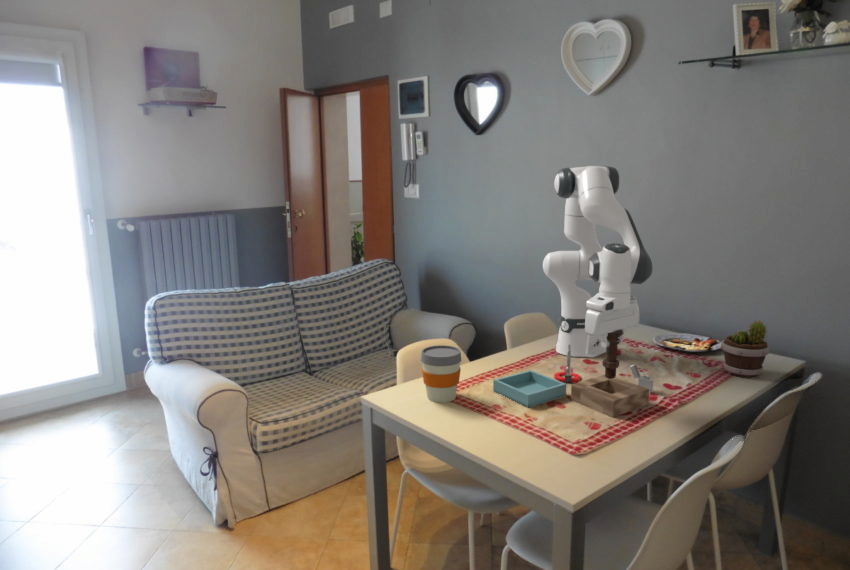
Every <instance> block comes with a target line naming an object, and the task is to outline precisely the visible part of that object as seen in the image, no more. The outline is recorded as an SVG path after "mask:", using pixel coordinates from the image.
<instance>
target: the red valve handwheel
mask: <svg viewBox="0 0 850 570" xmlns="http://www.w3.org/2000/svg"><path fill="white" fill-rule="evenodd" d="M570 348H571V345H568V351H567V355H566V367H565V371H560V372H556V373H554V375H553V377H554V379H555V380H557V381H560V382H563V383H565V382H566V383H565V384H575V383H578V382H580V379H581V376H580V374H578V373H576V372H572V367H571V361H572V360H571V359H572V356H571V351H570ZM560 375H561V376H560ZM573 376H574V377H573Z"/></svg>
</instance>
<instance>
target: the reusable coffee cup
mask: <svg viewBox="0 0 850 570" xmlns="http://www.w3.org/2000/svg"><path fill="white" fill-rule="evenodd" d="M420 356H421V357H420V361H421V364H422V367H421V374H422V380H423V384H424V385H425V391H426V398H427V399H428V400H429V401H430V402H433V403H450V402H452V401H454V400H455V399H456V397H457V390H458V384H459V383H460V377H461V362H462V354H461V350H460V349H459V348H458V347H456V346H452V345H440V344H439V345H431V346H428V347H425V348H423V349H422V350H421V355H420Z"/></svg>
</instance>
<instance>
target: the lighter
mask: <svg viewBox="0 0 850 570" xmlns="http://www.w3.org/2000/svg"><path fill="white" fill-rule="evenodd" d="M629 368H630V370H631V373H632V375H633V377H634V379H637V382H638V383H637V385H640V386H642V387H645V388H648V389H649V394H652V393H653V389H654V379H653V378H651V376H650V375H647V374H642V376H641V374H640V371H639V369H638V366H637V363H635V364H631V365H630V366H629ZM651 392H652V393H651Z"/></svg>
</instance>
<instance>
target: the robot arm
mask: <svg viewBox="0 0 850 570" xmlns="http://www.w3.org/2000/svg"><path fill="white" fill-rule="evenodd" d="M555 175H556V176H555V178H554V183H553V185H554V190H555V192H556V193H555V194H556V195H557V196H558V197H559V198H563V199H566V200H565V204H564V205H565V208H564V220H563V221H564V224H563V226H564V228H563V232H564V236H565V237H566V238H567V239H568V240H569V241H571V242H573V243H575V244H577V245H579V246H580V249H579V250H557V251H552V252H548V253H547V254H546V255H545V256H544V259H543V261H542V270H543V273H544V274H545V276H546V277H547V278H549V279H550V280H551V281H552V282H553V283H554V285H556V287H557V289H558V291H559V294H560V301H561V302H560V304H561V305H560V307H561V308H560V309H561V314H560V315H559V330H558V338H557V343H555V347H556V348H555V351H556V353H558V354H560V355H563V356H567V351H568V345H571V348H570V351H571V357H575V358H576V357H577V358H578V357H582V358H593V359H594V358H596V357H599V356H600V355H603V354H604V353H605V354H606V347H609V341H607V338H606V337H607V336H608V333H611V332H615V331H619V330H622V331H623V334H622V335H621V336H620V337H618V345H619V344H623V341H624V336H625V334H626V332H627V329H630V328H634V327H637V326H638V325H639V324H640V307H639V304H638V298H637V297H636V296H635V295H631V293H632V291H631V290H632V289H631V285H630V284H633V285H642V284H644V283H645V282H646V281H648V279H649V278H650V277H651V276H652V274H653V262H652V259H651V257H650V255H649V253H648V251H647V250H646V249H645V246H644V244H643V241H642V240H641V236H640V234H639V231H638V230H637V227H636V224H635V223H634V220H633V218H632V215H631V213H630V212H629V210H628V209H626V208H625V207H623V206H622V205H621V204H620V203H619V201H618V200H617V198H616V197H615V195H616V194H617V193H618V191H619V188H620V184H621V178H620V174H619V171H618V169H617V168H616V167H613V166H609V165H605V166H600V165H587V166H577V167H564V168H560V169H559V170H558V171H557V173H556V174H555ZM596 225H597V226H602V227H605V228H607V229H610V230H613V231H615V232H617V233H618V234H619V235H620V236H621V239H622V241H623V243H624V244H623V243H617V242H615V243H613V242H612V243H608V244H605V245H603V247H602V246H601V244H600V242H599V241H598V237H597V232H596V231H597V230H596V229H597V228H596V227H597V226H596ZM576 281H594V282H596V283H598V284H600V285H599V289H598V292H597V293H596V294H595V295H593V296H592V295H591V294H590V293H589V292H588V291H586V290H585V289H583V288H582V287H579V286H577V284H576Z"/></svg>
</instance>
